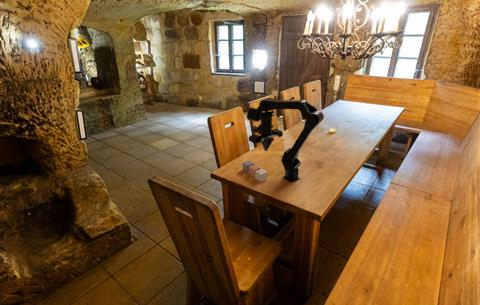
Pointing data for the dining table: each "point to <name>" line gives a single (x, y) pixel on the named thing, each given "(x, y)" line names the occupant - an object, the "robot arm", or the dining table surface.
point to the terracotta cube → (253, 170)
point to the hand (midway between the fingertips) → (265, 150)
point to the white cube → (261, 175)
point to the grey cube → (247, 165)
